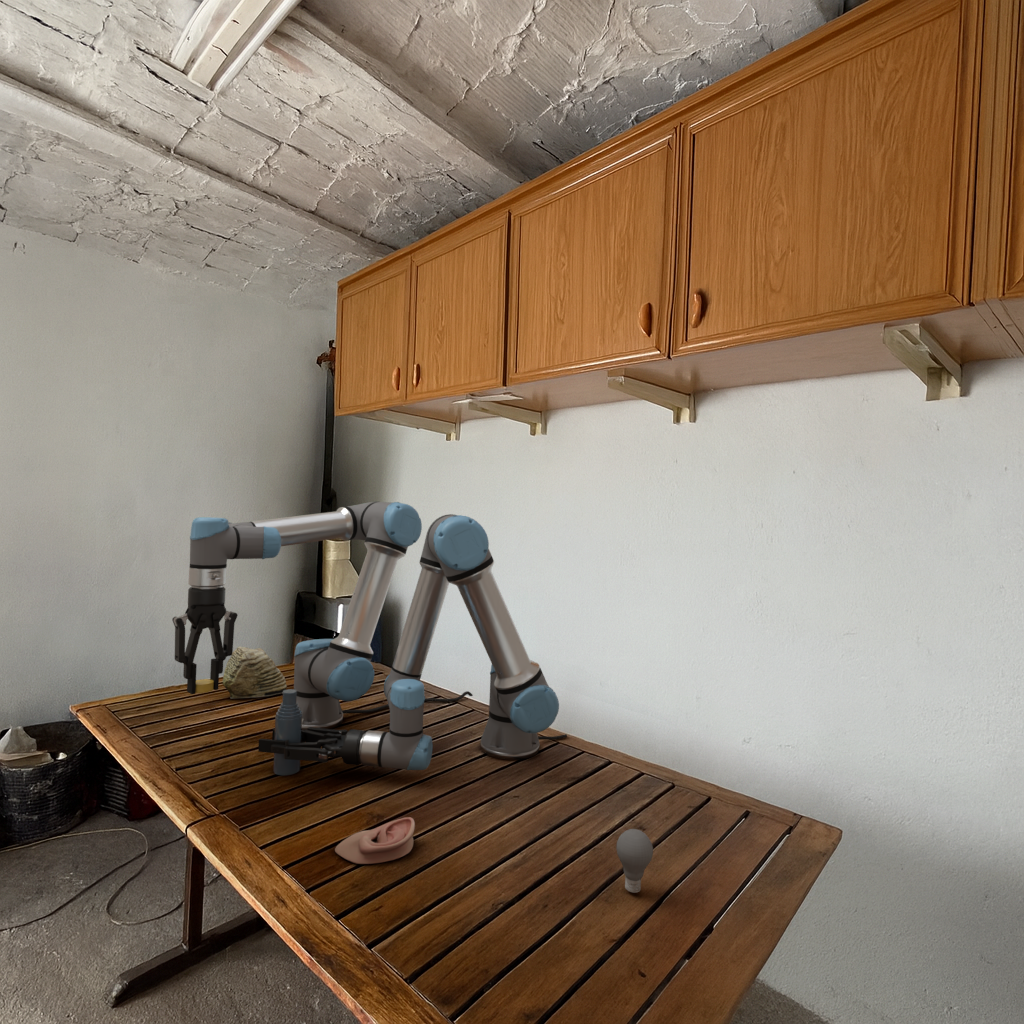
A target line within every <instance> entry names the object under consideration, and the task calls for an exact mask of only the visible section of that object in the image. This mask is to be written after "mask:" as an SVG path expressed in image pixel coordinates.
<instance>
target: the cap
mask: <svg viewBox="0 0 1024 1024" xmlns="http://www.w3.org/2000/svg"><path fill="white" fill-rule="evenodd" d="M212 691H214V681H213V680H211V679H210V678H203V679H196V690H195V694H204V693H209V692H212Z"/></svg>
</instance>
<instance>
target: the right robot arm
mask: <svg viewBox="0 0 1024 1024" xmlns="http://www.w3.org/2000/svg"><path fill="white" fill-rule="evenodd" d="M489 545H490V543H489V536H488V534H487V531H486V530H485V529H484V527H483V526H482V525H481V524H480V523H479V522H478V521H477V520H476V519H474V518H472V517H470V516H467V515H462V514H461V515H458V514H453V513H451V514H444V515H441V516H439V517H438V518H435V520H434V521H433V522H432V523H431V524H430V526H429V527H428V529H427V532H426V535H425V539H424V544H423V547H422V552H421V555H420V559H419V562H418V563H419V565H420V567H421V569H420V573H419V577H418V580H417V583H416V586H415V589H414V592H413V596H412V599H411V602H410V605H409V609H408V613H407V616H406V619H405V623H404V626H403V629H402V632H401V635H400V638H399V639H400V640H399V642H398V646H397V649H396V652H395V655H394V659H393V662H392V666H391V669H390V671H389V674H388V675H387V676H386V678H385V680H384V682H383V694H384V696H385V698H386V701H387V704H388V705H389V707H388V709H389V729H388V730H389V732H388V731H381V730H367V731H366V730H364V729H349V730H348V729H335V728H333V729H324V728H315V727H308V728H307V730H305V729H304V730H302V735H301V743H289V740H286V741H283V740H275V727H274V728H273V729H272V735H271V736H272V737H271V739H269V738H259V739H258V747H257V748H258V750H257V752H258V753H269V754H274V753H279V754H284V759H288V760H301V761H306V762H318V763H323V764H325V763H328V762H329V760H328V759H329V758H331V759H332V758H339V757H340V758H341V759H342V762H343V763H344V765H349V766H360V765H362V766H363V767H373V769H377V768H389V769H396V770H397V769H398V770H406V771H425V770H426V769H428V768H429V766H430V765H431V761H432V757H433V746H434V744H433V738H432V736H431V735H428V734H426V733H425V734H424V710H425V702H424V700H425V698H426V696H425V685H424V683H423V682H422V681H421V677H422V675H423V674H422V673H423V670H424V667H425V665H426V661H427V658H428V653H429V652H430V647H431V645H432V641H433V638H434V634H435V631H436V628H437V624H438V623H439V622H438V621H439V618H440V615H441V612H442V608H443V605H444V602H445V598H446V596H447V592H448V588H449V585H451V584H452V585H454V586H456V587H457V589H458V591H459V593H460V596H461V598H462V600H463V603H464V605H465V607H466V609H467V611H468V614H469V616H470V618H471V620H472V623H473V626H474V627H475V629H476V632H477V634H478V636H479V639H480V640H481V642H482V645H483V648H484V649H485V652H486V654H487V656H488V659H489V661H490V663H491V665H490V672H489V675H490V677H489V702H488V703H489V704H488V719H487V722H486V724H485V727H484V730H483V733H482V734H481V738H480V750H481V751H482V752H483V753H484V754H485V755H487V756H489V757H492V758H495V759H500V760H505V761H506V760H509V761H518V760H526V759H529V758H532V757H535V756H536V755H538V753H539V752H540V741H541V740H545V741H556V740H557V741H558V740H561V739H566V738H568V735H567V734H566V733H565V734H561V735H556V736H555V735H554V736H548V735H546V736H545V735H538V733H541V732H543V731H545V730H547V729H548V728H550V727H551V726H552V725H553V723H554V722H555V720H556V719H557V716H558V715H559V710H560V702H559V698H558V696H557V694H556V692H555V691H554V689H553V688H552V687H550V686H549V684H548V682H547V680H546V677H545V675H544V673H543V671H542V668H541V666H540V664H539V663H538V662H537V661H533V660H531V658H530V657H529V654H528V652H527V649H526V648H525V645H524V643H523V640H522V638H521V636H520V634H519V631H518V629H517V627H516V625H515V621H514V620H513V618H512V616H511V613H510V610H509V609H508V606H507V603H506V602H505V599H504V597H503V595H502V592H501V590H500V588H499V585H498V584H497V580H496V579H495V577H494V573H493V572H492V569H493V567H494V564H495V560H494V558H493V555H492V553H491V551H490V548H489Z"/></svg>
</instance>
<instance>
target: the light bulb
mask: <svg viewBox="0 0 1024 1024" xmlns="http://www.w3.org/2000/svg"><path fill="white" fill-rule="evenodd" d="M615 849H616V854H617V857H618V859H619V861H620V863H621V865H622V867H623V873H624V874H623V875H624V876H625V878H624V888H625V890H627V891H628V892H630V893H634V894H635V893H639V892H640V891H641V889H642V887H641V886H642V879H643V877H644V875H645V871H646V868H647V867H648V866H649V864H650V863H651V861H652V859H653V855H654V847H653V843H652V841H651V838H649V836H648V835H647V834H646V833H645V832H643V831H642V830H641V829H636V828H629V829H627V830H625V831H623V832H622V833H621V834H620V835H619V837H618V839H617V841H616V847H615Z"/></svg>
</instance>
